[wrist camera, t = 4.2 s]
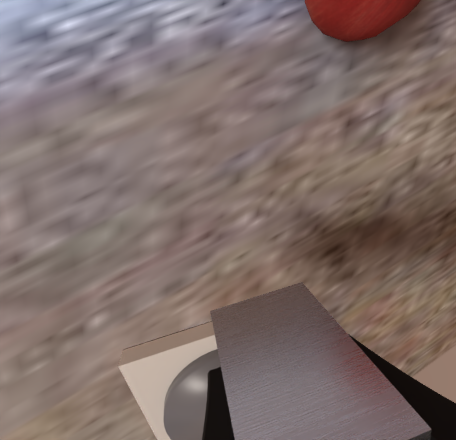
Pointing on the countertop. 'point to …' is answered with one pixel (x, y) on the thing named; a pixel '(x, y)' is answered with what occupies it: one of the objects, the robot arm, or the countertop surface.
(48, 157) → the countertop surface
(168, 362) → the kitchen scale
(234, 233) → the countertop surface
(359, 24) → the onion
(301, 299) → the block
